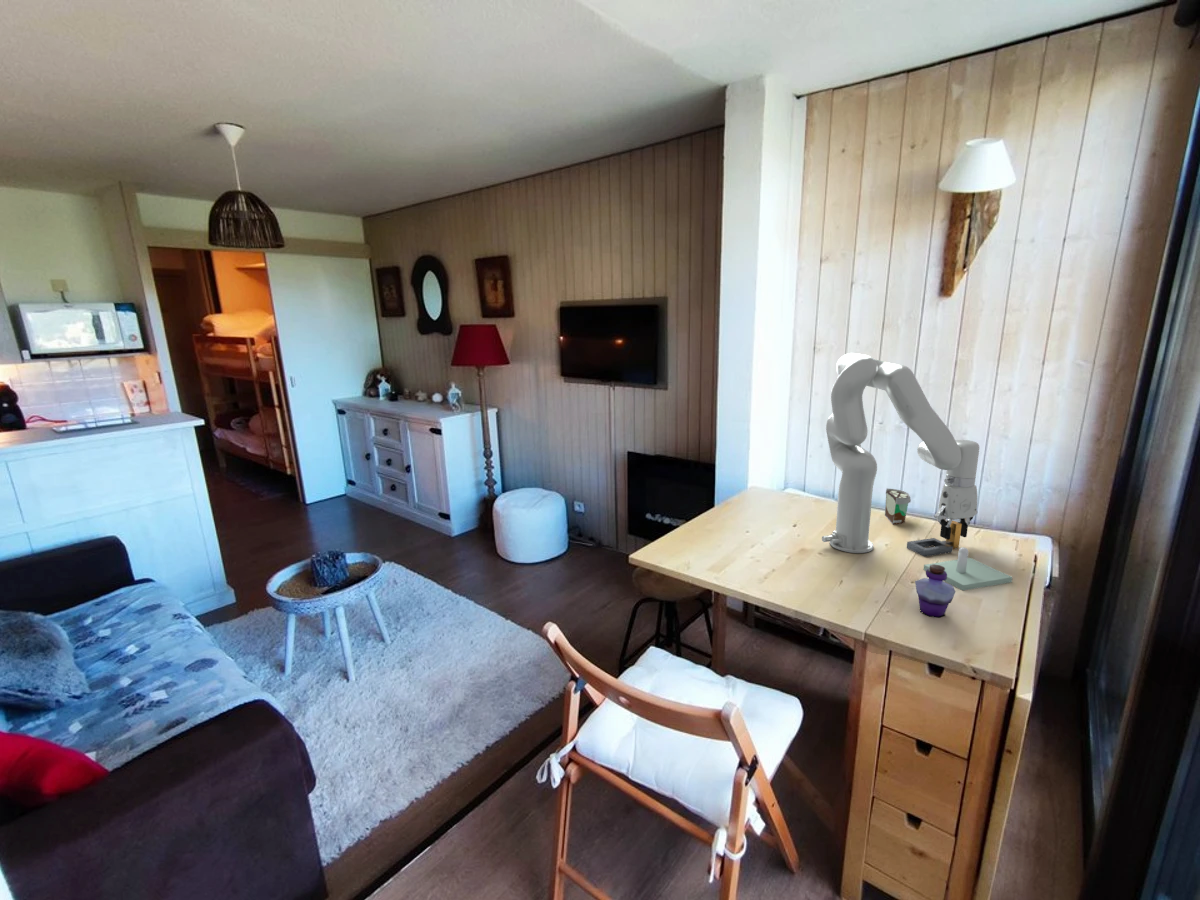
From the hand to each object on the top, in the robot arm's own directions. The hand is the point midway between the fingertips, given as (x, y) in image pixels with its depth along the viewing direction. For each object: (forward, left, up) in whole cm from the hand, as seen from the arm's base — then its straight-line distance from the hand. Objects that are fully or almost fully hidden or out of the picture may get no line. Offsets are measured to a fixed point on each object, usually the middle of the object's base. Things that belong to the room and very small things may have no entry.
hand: (953, 536), depth 170 cm
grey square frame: (-6, 0, -3) cm, 7 cm away
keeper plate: (-12, -17, -3) cm, 21 cm away
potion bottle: (-36, -30, -4) cm, 47 cm away
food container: (+2, +24, -4) cm, 24 cm away
